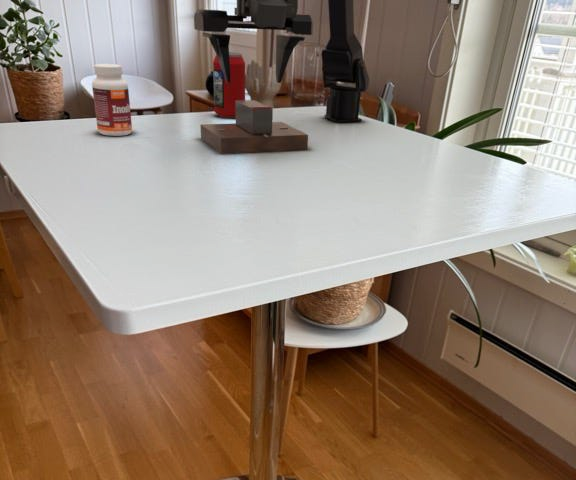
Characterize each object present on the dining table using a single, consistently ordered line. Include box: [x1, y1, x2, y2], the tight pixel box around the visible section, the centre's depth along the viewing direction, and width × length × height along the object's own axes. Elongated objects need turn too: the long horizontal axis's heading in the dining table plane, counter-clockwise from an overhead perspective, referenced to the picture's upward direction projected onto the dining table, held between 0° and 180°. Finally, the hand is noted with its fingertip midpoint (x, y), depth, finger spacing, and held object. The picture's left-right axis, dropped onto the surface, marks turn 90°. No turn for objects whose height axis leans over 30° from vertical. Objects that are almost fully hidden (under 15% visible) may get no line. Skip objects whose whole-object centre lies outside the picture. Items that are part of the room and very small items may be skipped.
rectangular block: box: [235, 99, 274, 134], centre depth 99 cm, size 9×4×4 cm, turn 23°
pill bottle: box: [91, 63, 133, 137], centre depth 101 cm, size 6×6×11 cm
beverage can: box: [212, 51, 246, 119], centre depth 121 cm, size 7×7×12 cm
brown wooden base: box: [200, 121, 309, 155], centre depth 101 cm, size 16×13×3 cm
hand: (253, 82), depth 96 cm, fingers open, 9 cm apart
